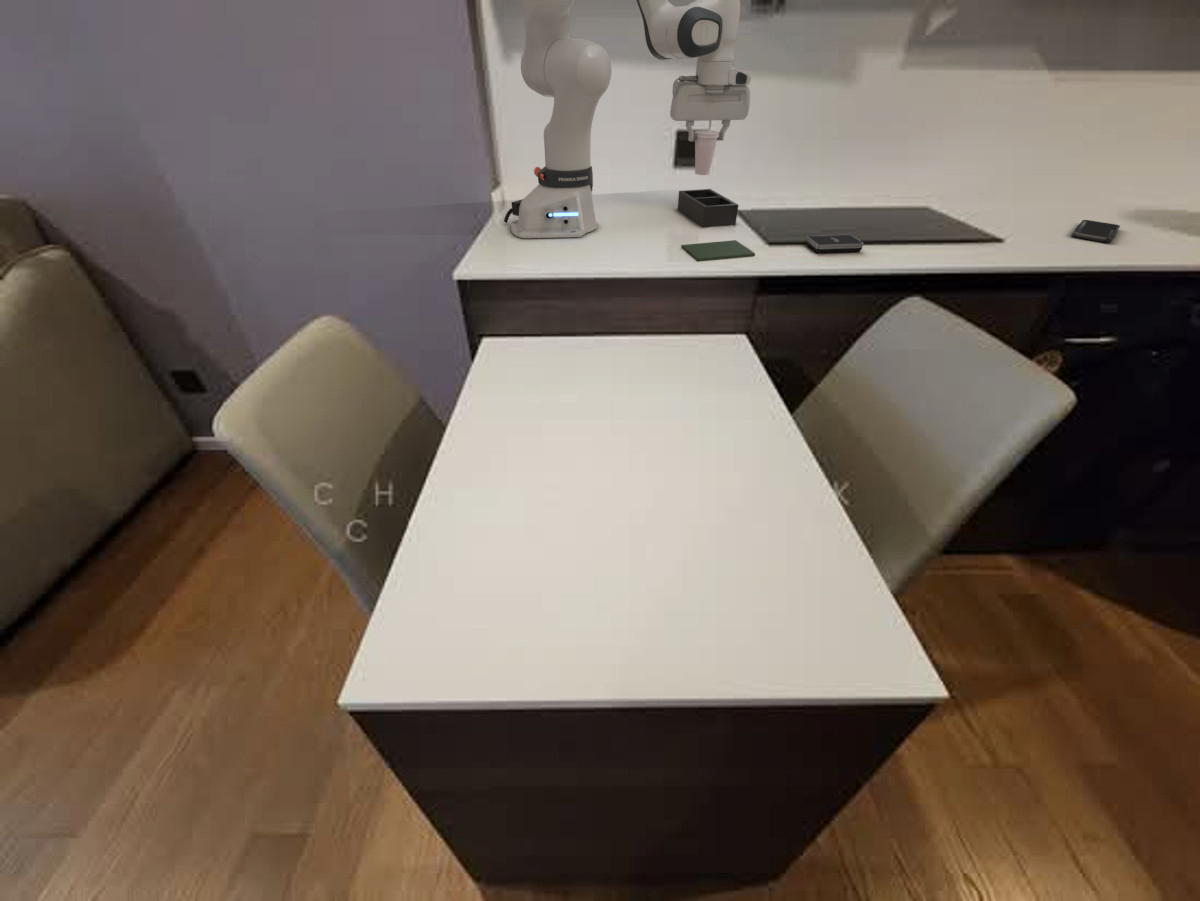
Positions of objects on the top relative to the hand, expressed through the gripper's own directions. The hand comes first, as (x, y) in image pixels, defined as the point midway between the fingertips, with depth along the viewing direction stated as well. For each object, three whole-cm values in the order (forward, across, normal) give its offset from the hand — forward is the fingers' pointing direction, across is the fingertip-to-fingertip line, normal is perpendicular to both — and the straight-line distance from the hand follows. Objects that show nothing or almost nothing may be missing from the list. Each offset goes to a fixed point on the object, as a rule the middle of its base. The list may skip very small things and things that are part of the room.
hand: (706, 140), depth 137 cm
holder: (+18, +1, -4) cm, 18 cm away
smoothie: (+8, 0, 0) cm, 8 cm away
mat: (+18, -8, -32) cm, 38 cm away
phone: (+17, +88, -44) cm, 100 cm away
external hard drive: (+18, +19, -37) cm, 45 cm away
